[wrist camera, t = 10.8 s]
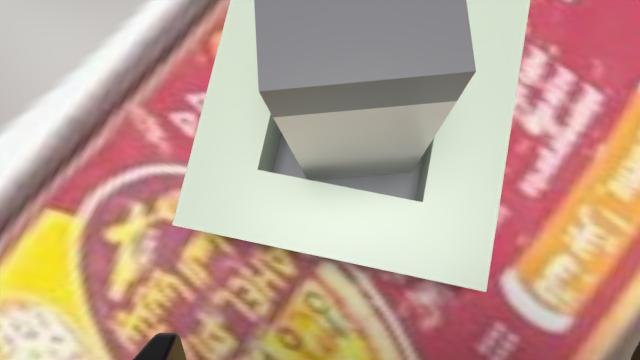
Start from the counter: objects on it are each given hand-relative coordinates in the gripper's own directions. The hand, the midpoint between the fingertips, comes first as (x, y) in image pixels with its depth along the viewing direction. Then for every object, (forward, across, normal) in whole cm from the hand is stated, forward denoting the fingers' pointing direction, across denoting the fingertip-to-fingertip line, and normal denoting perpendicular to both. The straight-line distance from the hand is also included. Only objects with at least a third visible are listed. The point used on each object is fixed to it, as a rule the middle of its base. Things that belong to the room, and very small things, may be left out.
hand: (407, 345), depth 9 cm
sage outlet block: (+16, 0, +3) cm, 16 cm away
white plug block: (+15, 0, +3) cm, 15 cm away
